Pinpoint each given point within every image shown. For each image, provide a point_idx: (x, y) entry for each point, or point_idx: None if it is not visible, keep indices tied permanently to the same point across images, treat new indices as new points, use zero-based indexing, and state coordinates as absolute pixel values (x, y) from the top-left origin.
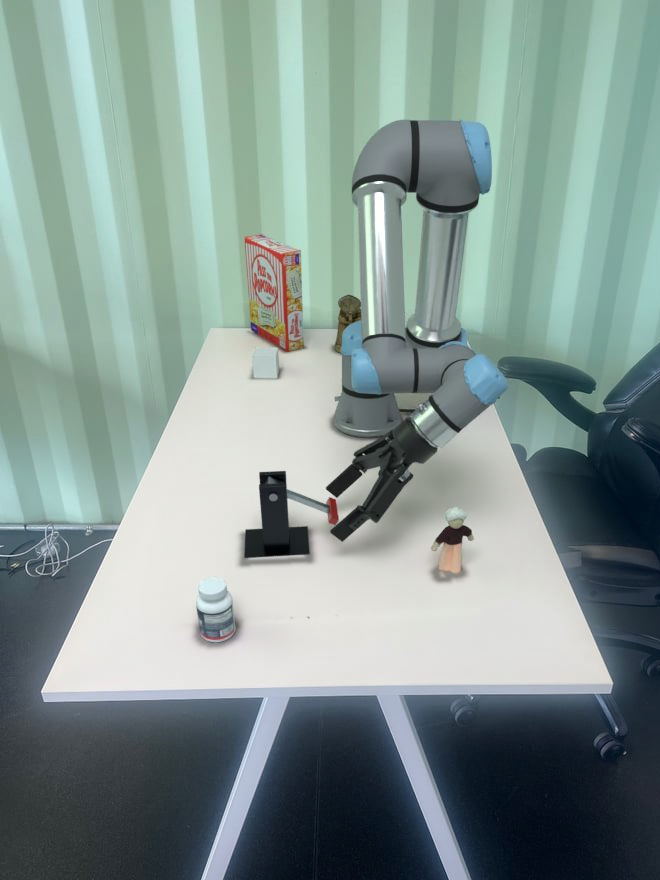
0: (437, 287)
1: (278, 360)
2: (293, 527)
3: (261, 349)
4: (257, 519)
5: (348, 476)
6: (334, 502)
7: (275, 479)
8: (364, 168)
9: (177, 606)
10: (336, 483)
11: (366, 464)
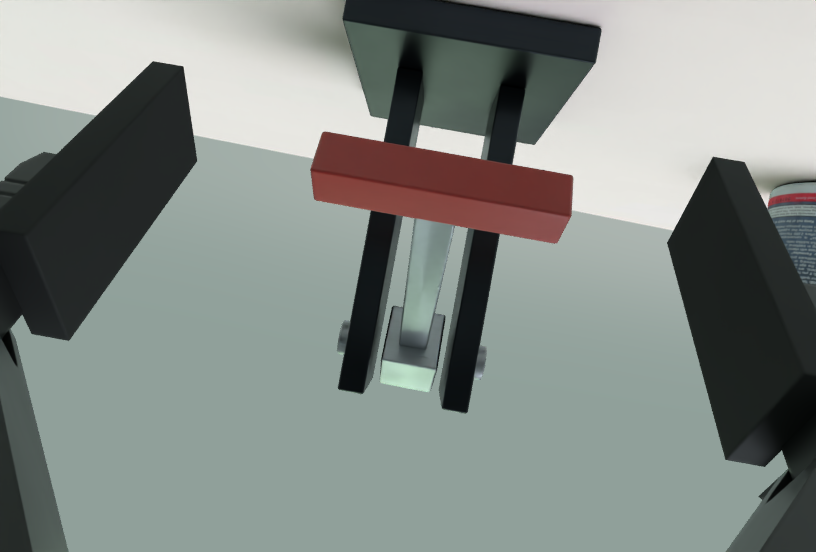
0: None
1: None
2: (357, 51)
3: None
4: (271, 61)
5: (105, 238)
6: (362, 189)
7: (386, 374)
8: None
9: (662, 190)
10: (161, 192)
11: (18, 405)
